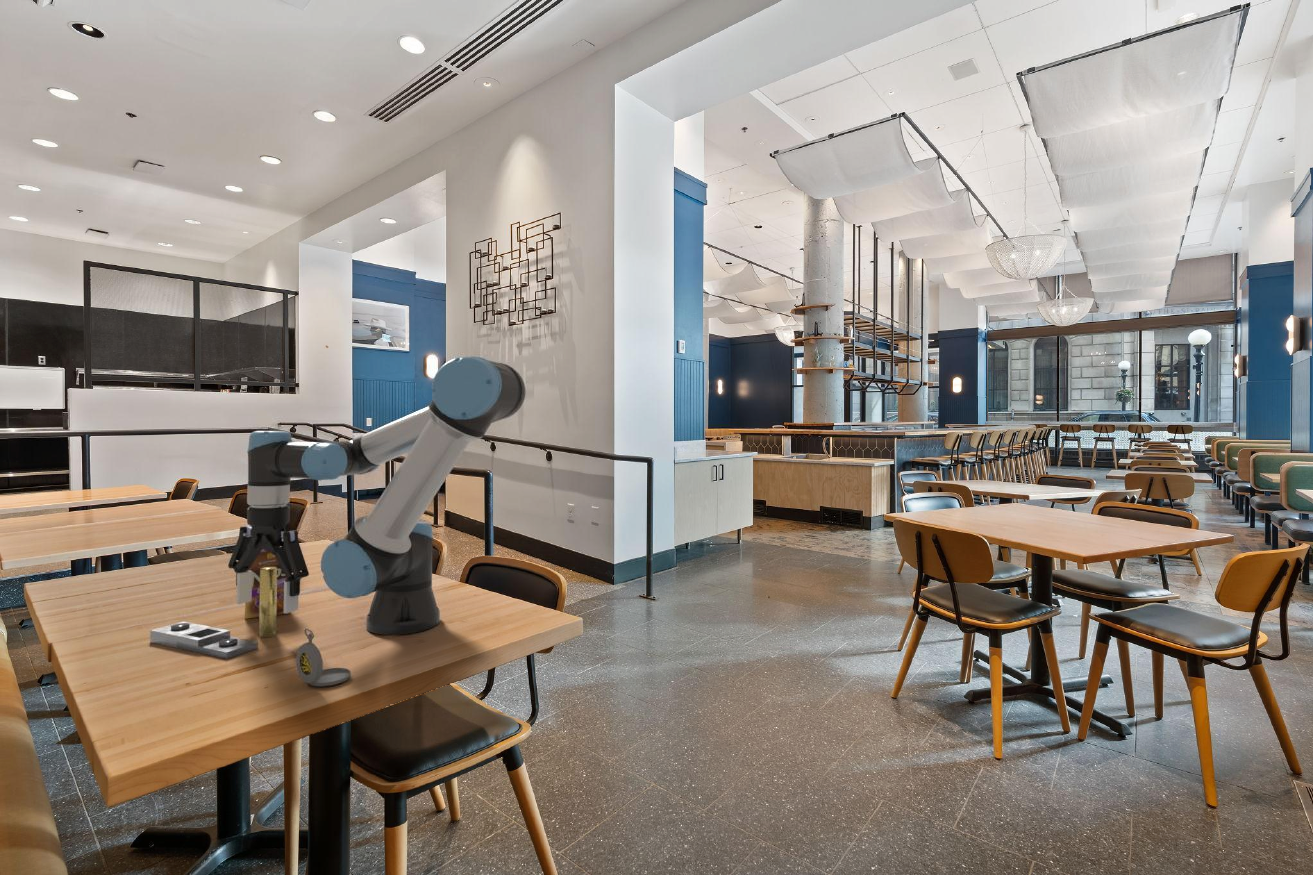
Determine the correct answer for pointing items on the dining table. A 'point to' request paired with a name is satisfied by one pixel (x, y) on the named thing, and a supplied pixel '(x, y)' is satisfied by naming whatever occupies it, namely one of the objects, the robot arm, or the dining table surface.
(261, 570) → the link pin
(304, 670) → the pocket watch
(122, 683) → the dining table surface
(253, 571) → the candy box
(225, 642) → the metal latch plate
